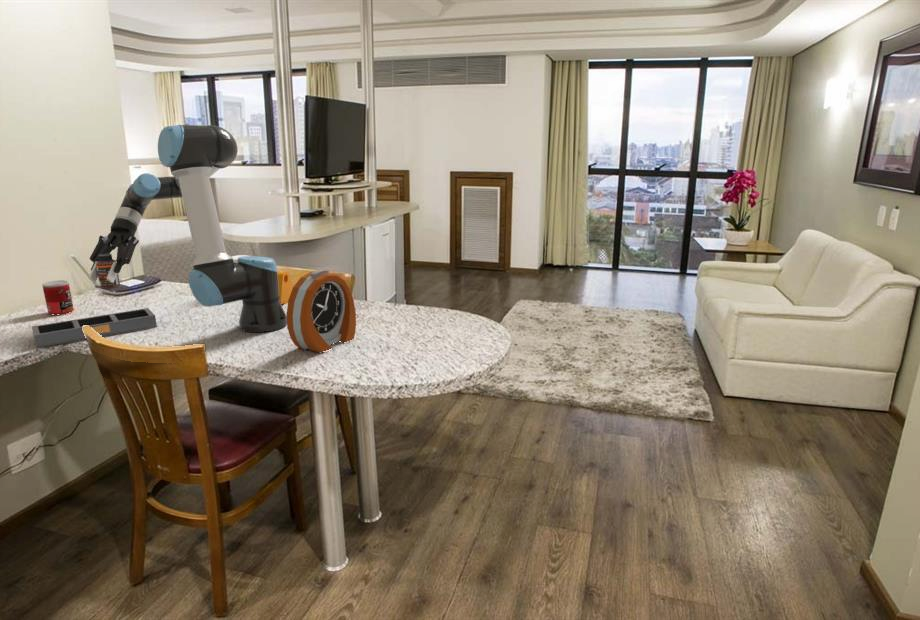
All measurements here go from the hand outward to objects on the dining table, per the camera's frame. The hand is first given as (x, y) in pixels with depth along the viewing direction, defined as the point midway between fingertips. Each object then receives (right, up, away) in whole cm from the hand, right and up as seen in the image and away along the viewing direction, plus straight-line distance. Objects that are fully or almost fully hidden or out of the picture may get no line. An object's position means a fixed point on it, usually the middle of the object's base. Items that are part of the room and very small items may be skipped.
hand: (100, 280), depth 197 cm
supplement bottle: (+1, -2, +4) cm, 5 cm away
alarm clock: (+78, -20, -15) cm, 82 cm away
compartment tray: (+2, -17, -5) cm, 18 cm away
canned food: (-24, -11, +17) cm, 32 cm away
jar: (+32, -4, +41) cm, 52 cm away
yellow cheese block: (+50, -7, +29) cm, 58 cm away
